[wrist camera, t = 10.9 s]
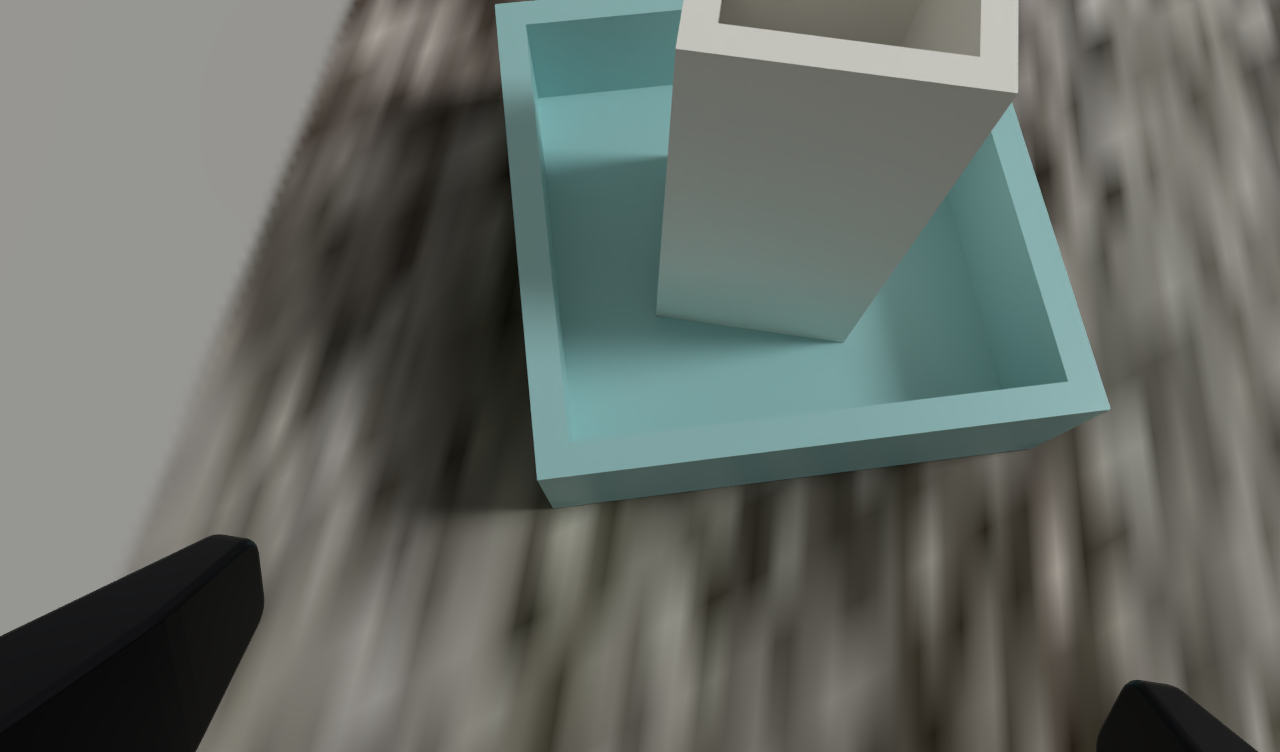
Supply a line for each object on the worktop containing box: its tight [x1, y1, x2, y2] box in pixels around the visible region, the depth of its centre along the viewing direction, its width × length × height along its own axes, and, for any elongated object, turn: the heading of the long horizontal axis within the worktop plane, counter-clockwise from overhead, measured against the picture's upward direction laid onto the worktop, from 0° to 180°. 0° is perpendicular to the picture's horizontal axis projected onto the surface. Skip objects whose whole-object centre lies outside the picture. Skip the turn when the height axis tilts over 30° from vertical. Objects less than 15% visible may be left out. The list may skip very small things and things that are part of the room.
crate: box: [495, 0, 1111, 508], centre depth 23 cm, size 14×14×4 cm
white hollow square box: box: [656, 0, 1018, 343], centre depth 19 cm, size 5×5×11 cm
